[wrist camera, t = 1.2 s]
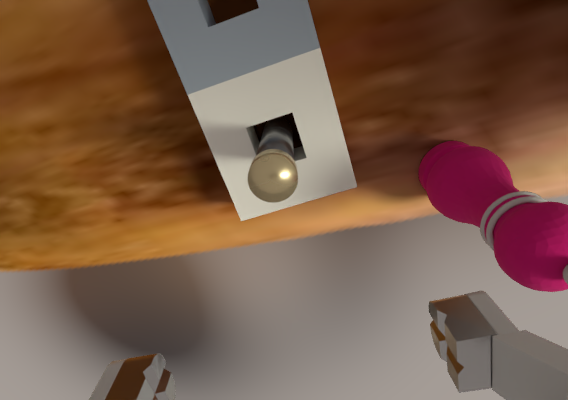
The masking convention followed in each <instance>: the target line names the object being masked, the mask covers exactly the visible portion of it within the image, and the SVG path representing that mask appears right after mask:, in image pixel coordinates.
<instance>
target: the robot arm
mask: <svg viewBox="0 0 568 400" xmlns="http://www.w3.org/2000/svg"><path fill="white" fill-rule="evenodd" d="M429 313H430V315H431V317H432V318H433V321H432V322H431V324H430V327H431V334H432V338H433V342H434V344H435V347H436V350H437V352H438V354H439V356H440V358H441V359H443V360H445V361H446V362H447V367H448V373H449V375H450V377H451V378H452V380H453V382H454V384H455V386H456V388H457V389H458V391H459V392H467V391H474V390H481V389H489V388H492V390H493V391H495V392H496V393H498V394H499V395H500V396H502V397H503V398H504V399H506V400H568V349H566V348H564V347H562V346H559V345H557V344H555V343H553V342H550V341H548V340H546V339H544V338H542V337H539V336H537V335H535V334H533V333H530V332H528V331H526V330H523V331H519V330H518V329H517V328H516V327H515V325H514V324H513V323H512V322H511V321H510V320H509V318H508V317H507V316H506V315H505V314H504V313H503V312H502V310H501V309H500V308H499V307H498V306H497V305H496V304H495V302H494V301H493V300H492V299H491V298H490V297H489V295H488V294H487V293H486V292H484V291H478V292H473V293H468V294H464V295H459V296H455V297H450V298H445V299H440V300H435V301H430V302H429ZM165 363H166V361H165V360H164V358H163V356H162V354H153V355H147V356H141V357H135V358H129V359H126V360H119V361H113V362H111V363H110V364H109V365H108V366H107V368H106V370H105V371H104V373H103V375H102V377H101V379H100V380H99V382H98V384H97V386H96V388H95V390H94V392H93V394H92V395H91V397H90V399H89V400H175V389H176V386H175V382H174V378H173V376H172V374H171V372H169V371H167V370H165V369H164V366H165Z"/></svg>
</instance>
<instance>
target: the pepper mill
mask: <svg viewBox="0 0 568 400" xmlns="http://www.w3.org/2000/svg"><path fill="white" fill-rule="evenodd" d="M418 174H419V181H420V183H421V185H422V187H423V188H424V189H425V190H426V191H427V195H428V198H429V200H430V202H431V203H432V205H433V206H434V207H435V208H436V209H437V210H438V211H439V212H440V213H442V214H443V215H444V216H446V217H448V218H450V219H453V220H455V221H458V222H462V223H468V224H473V225H475V226H478V227H479V228H480V232H481V236H482V238H483V240H484V241H485V242H486V243H487V244H488V245H489V246H490V247H491V248H492V249H493V250H494V253H495V258H496V260H497V262H498V264H499V266H500V267H501V269H502V270H503V271H504V272H505V273H506V274H507V275H508V276H509V277H510V278H512V279H513V280H514V281H516V282H518V283H519V284H521V285H523V286H525V287H528V288H531V289H533V290H538V291H548V292H555V291H563V290H566V289H568V205H566V204H562V203H558V202H549V201H547V200H545V199H543V198H542V197H540V196H539V195H537V194H535V193H532V192H525V191H519V190H517V189H516V188H515V187H514V186H513V182H512V178H511V175H510V171H509V170H508V168H507V166H506V165H505V163H504V162H503V161H502V160H501V159H500V158H499V157H498V156H497V155H495V154H494V153H493V152H491V151H489V150H487V149H485V148H481V147H476V146H469V145H468V144H465V143H463V142H459V141H448V142H444V143H441V144H439V145H437V146H435V147H433V148H432V149H431V150H430V151H429V152H427V154H426V155H425V156H424V158H423V159H422V161H421V164H420V167H419V173H418Z"/></svg>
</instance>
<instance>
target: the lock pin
mask: <svg viewBox="0 0 568 400" xmlns="http://www.w3.org/2000/svg"><path fill="white" fill-rule="evenodd" d="M297 184H298V172H297V166H296V163H295V161H294V150H293V131H292V127H291V124H290V123H289V122H288V121H287V120H286V119H284V118H281V117H277V118H274V119H271V120H269V121H268V122H267V123H266V124H265V126H264V130H263V133H262V137H261V140H260V144H259V147H258V151H257V155H256V157H255V158H254V159H253V161H252V163H251V165H250V169H249V172H248V185H249V188H250V190H251V191H252V193H253V194H254V195H255V196H256V197H257V198H259V199H261V200H263V201H265V202H271V203H276V202H281V201H284V200H286V199H287V198H289V197H290V196H291V195H292V194H293V193H294V191H295V190H296V187H297Z"/></svg>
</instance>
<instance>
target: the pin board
mask: <svg viewBox="0 0 568 400" xmlns="http://www.w3.org/2000/svg"><path fill="white" fill-rule="evenodd" d="M147 1H148V3H149V6H150V8H151V10H152V13H153V15H154V17H155V20H156V22H157V24H158V27H159V29H160V32H161V34H162V36H163V39H164V41H165V43H166V46H167V48H168V50H169V53H170V55H171V57H172V60H173V62H174V64H175V67H176V69H177V71H178V74H179V76H180V78H181V81H182V83H183V85H184V88H185V90H186V93H187V95H188V97H189V100H190V102H191V104H192V107H193V109H194V111H195V114H196V116H197V118H198V121H199V123H200V125H201V128H202V130H203V132H204V135H205V137H206V139H207V142H208V144H209V146H210V149H211V151H212V154H213V156H214V158H215V161H216V163H217V165H218V168H219V170H220V172H221V175H222V177H223V179H224V182H225V184H226V186H227V189H228V191H229V193H230V196H231V198H232V200H233V203H234V205H235V207H236V210H237V212H238V215H239V217H240V219H241V221H243V220H247V219H250V218H254V217H257V216H260V215H264V214H267V213H271V212H274V211H277V210H281V209H284V208H287V207H291V206H294V205H298V204H301V203H304V202H308V201H311V200H315V199H318V198H321V197H325V196H328V195H331V194H335V193H338V192H342V191H345V190H348V189H352V188H355V187H357V184H356V180H355V176H354V172H353V169H352V165H351V161H350V157H349V154H348V150H347V146H346V142H345V139H344V135H343V131H342V127H341V124H340V120H339V116H338V112H337V109H336V105H335V101H334V97H333V94H332V90H331V86H330V82H329V79H328V75H327V71H326V67H325V64H324V60H323V56H322V52H321V49H320V45H319V41H318V38H317V34H316V30H315V26H314V23H313V19H312V15H311V11H310V8H309V4H308V0H257V3H258V6H259V8H258V9H255V10H253V11H250V12H247V13H245V14H242V15H239V16H237V17H234V18H232V19H229V20H226V21H224V22H221V23H218V24H216V22H215V20H214V17H213V14H212V12H211V9H210V6H209V3H208V1H207V0H147ZM289 113H293V116H294V120H295V123H296V126H297V129H298V132H299V135H300V138H301V142H302V145H303V146H300V147H297V148H294V149H293V150H294V161H295V163H296V166H297V172H298V184H297V187H296V190H295V191H294V193H293V194H292V195H291V196H290V197H289V198H287V199H286V200H284V201H281V202H276V203H271V202H265V201H263V200H261V199H259V198H257V197H256V196H255V195H254V194H253V193H252V191H251V190H250V188H249V185H248V172H249V169H250V165H251V163H252V161H253V159H254V158H255V157H256V155H257V151H258V147H259V144H260V143H259V140H258V137H257V134H256V132H255V129H254V126H253V125H256V124H259V123H262V122H265V121H268V120H271V119H274V118H277V117H280V116H283V115H286V114H289Z"/></svg>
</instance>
